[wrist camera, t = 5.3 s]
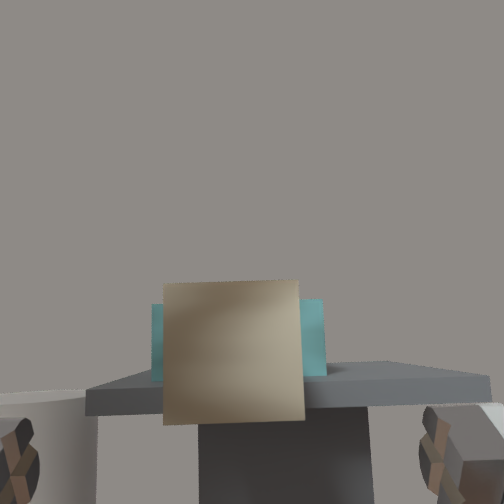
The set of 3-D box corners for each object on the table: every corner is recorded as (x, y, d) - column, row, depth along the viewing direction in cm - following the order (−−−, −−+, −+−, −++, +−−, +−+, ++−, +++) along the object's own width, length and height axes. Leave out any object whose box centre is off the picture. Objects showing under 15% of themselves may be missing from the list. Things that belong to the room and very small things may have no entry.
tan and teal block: (43, 429, 10) (50, 264, 11) (175, 370, 30) (175, 313, 30) (422, 415, 10) (407, 254, 11) (305, 366, 30) (302, 309, 31)
